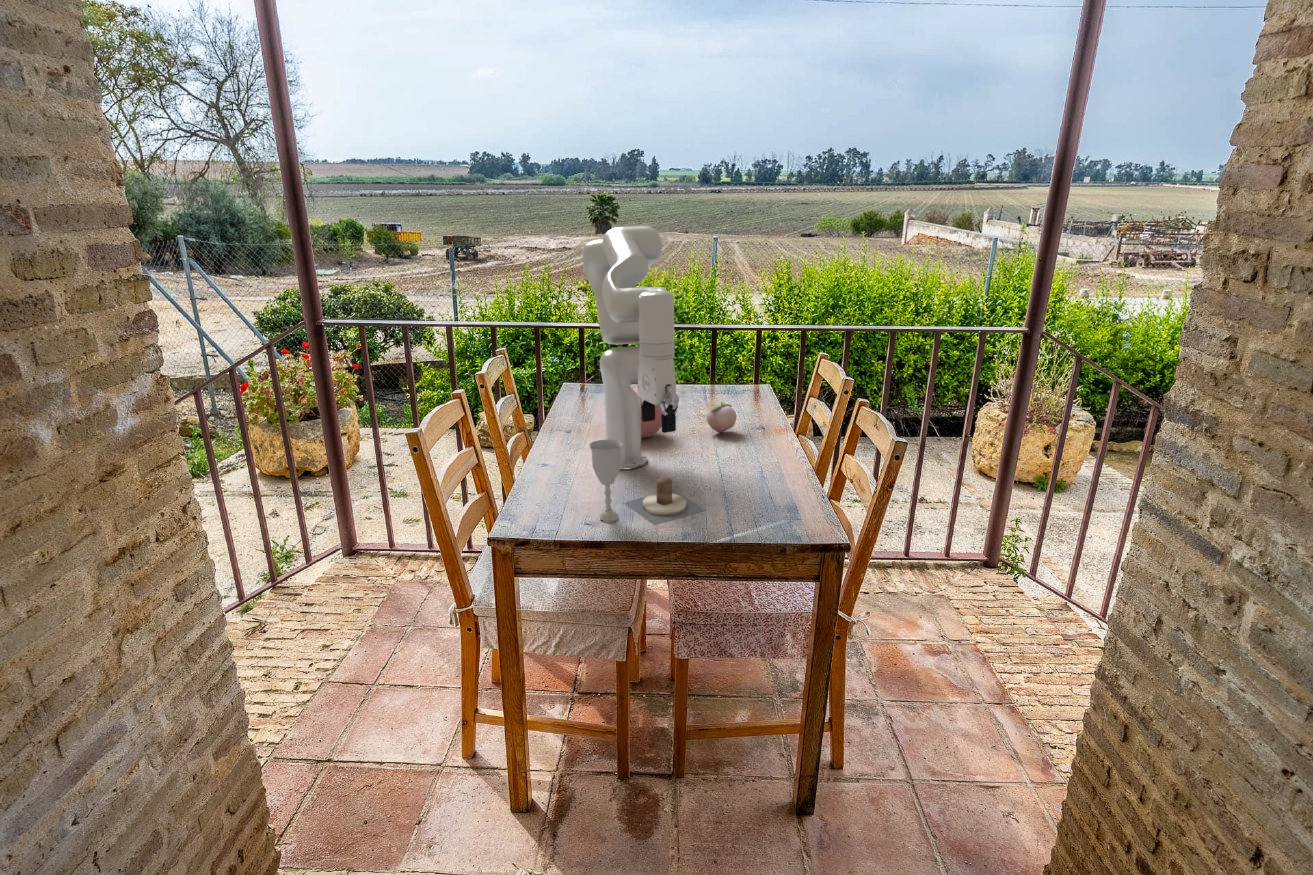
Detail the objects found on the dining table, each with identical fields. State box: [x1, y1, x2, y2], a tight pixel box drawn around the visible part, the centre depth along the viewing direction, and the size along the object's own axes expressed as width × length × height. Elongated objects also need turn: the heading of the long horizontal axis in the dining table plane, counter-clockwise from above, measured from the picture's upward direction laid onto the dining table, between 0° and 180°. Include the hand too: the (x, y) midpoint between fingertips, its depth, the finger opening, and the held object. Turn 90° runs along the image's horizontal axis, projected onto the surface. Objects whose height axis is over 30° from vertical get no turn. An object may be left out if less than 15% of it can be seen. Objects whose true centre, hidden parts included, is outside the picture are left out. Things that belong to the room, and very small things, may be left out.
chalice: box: [588, 439, 623, 523], centre depth 154 cm, size 7×7×18 cm
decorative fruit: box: [706, 401, 737, 434], centre depth 212 cm, size 9×8×10 cm
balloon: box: [631, 386, 663, 439], centre depth 212 cm, size 15×20×15 cm
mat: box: [623, 489, 707, 526], centre depth 162 cm, size 14×14×1 cm
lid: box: [643, 477, 686, 515], centre depth 161 cm, size 10×10×6 cm
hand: (658, 426), depth 155 cm, fingers open, 9 cm apart
